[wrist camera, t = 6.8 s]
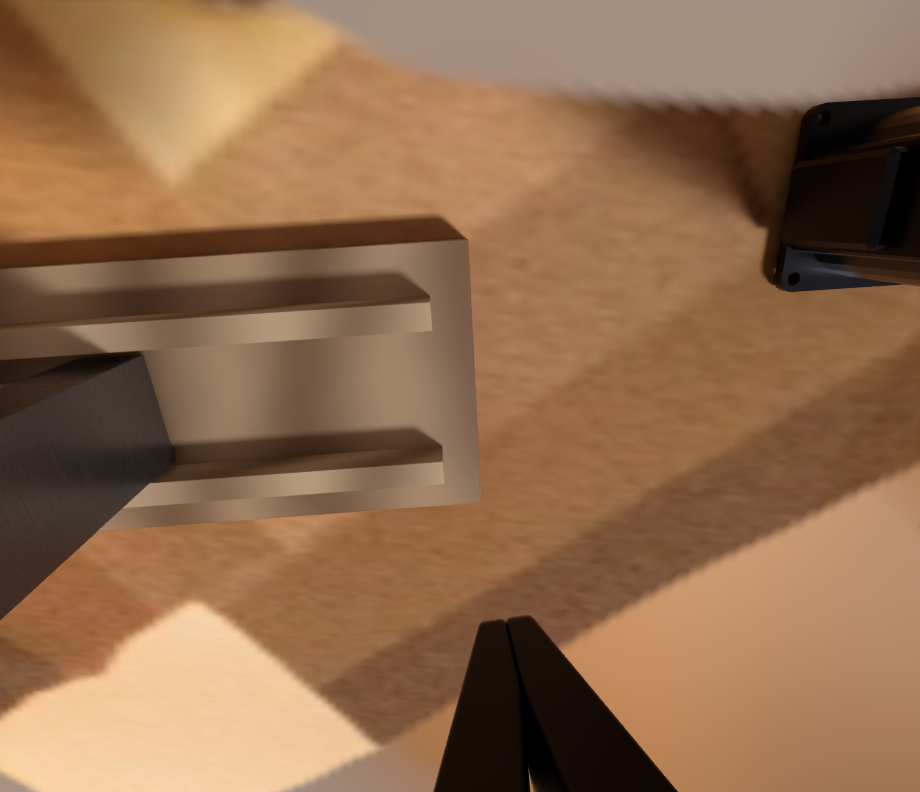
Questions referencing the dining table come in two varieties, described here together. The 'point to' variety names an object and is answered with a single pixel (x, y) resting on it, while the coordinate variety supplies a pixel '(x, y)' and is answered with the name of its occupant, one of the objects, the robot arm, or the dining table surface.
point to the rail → (275, 373)
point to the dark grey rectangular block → (72, 461)
